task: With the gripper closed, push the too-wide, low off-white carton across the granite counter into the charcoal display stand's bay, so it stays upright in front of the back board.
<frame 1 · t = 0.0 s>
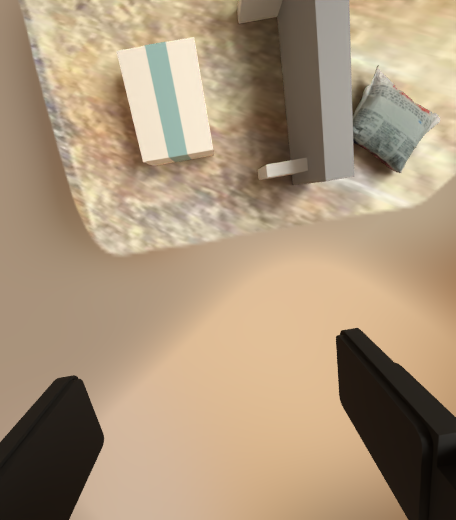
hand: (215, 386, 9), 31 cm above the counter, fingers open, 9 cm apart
carton: (174, 115, 35), on the counter
display stand: (295, 93, 34), on the counter
packaged food: (379, 127, 36), on the counter
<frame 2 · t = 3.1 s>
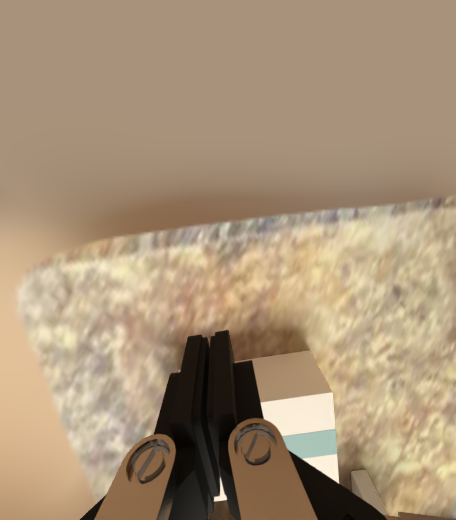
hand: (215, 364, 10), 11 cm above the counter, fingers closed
carton: (250, 399, 24), on the counter
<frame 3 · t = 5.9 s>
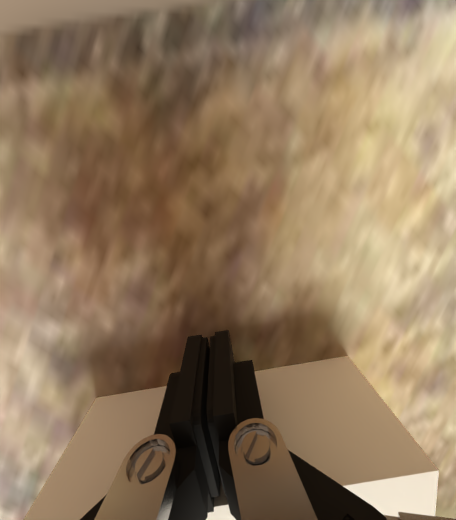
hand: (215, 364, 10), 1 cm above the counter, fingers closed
carton: (236, 448, 13), on the counter
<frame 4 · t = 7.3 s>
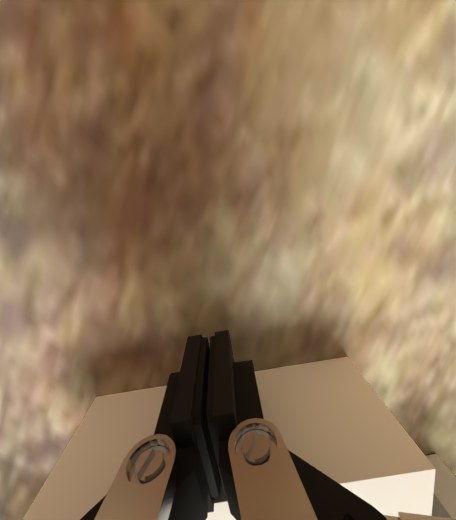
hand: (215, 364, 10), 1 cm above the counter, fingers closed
carton: (235, 446, 13), on the counter
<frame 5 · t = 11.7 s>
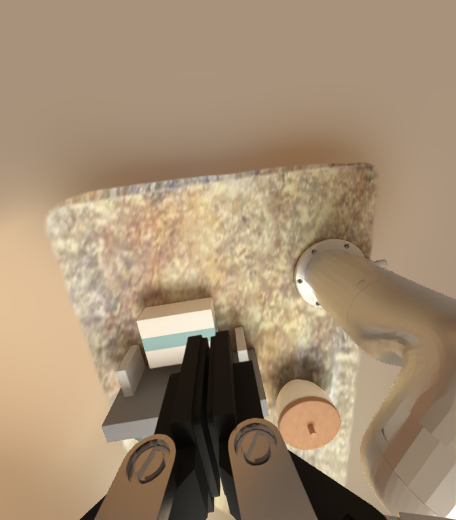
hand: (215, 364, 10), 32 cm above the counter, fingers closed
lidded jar: (296, 390, 50), on the counter
carton: (183, 324, 45), on the counter
display stand: (193, 365, 48), on the counter
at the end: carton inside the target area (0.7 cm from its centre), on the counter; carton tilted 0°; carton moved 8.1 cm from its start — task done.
